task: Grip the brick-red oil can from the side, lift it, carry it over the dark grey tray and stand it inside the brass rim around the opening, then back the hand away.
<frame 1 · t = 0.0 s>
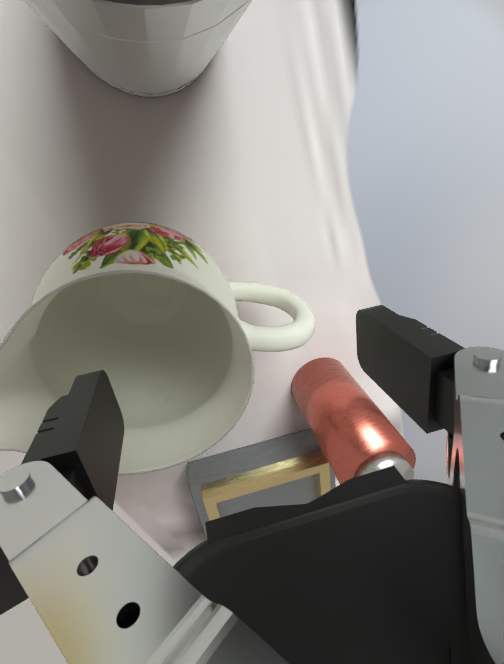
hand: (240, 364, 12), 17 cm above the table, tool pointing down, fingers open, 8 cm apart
spout can: (319, 382, 35), on the table
pitcher: (159, 281, 28), on the table
grey tray: (263, 486, 40), on the table
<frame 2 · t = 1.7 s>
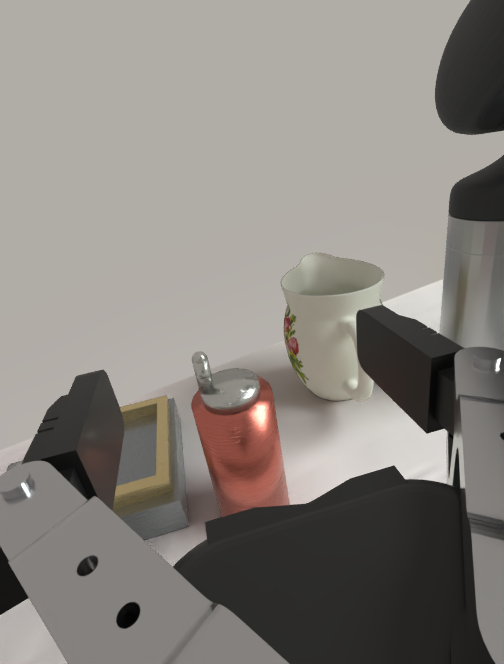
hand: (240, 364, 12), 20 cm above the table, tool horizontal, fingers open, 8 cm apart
spout can: (255, 506, 30), on the table
pitcher: (340, 389, 43), on the table
grey tray: (115, 482, 35), on the table
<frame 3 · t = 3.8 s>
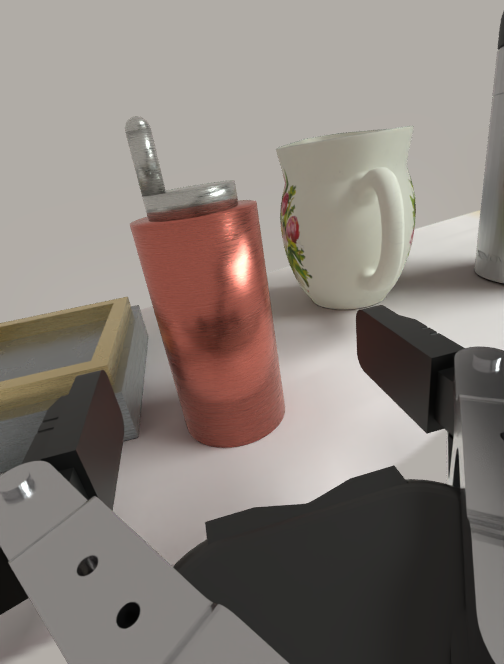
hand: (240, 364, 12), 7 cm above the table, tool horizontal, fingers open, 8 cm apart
spout can: (235, 412, 21), on the table
pitcher: (352, 301, 34), on the table
grey tray: (50, 397, 26), on the table
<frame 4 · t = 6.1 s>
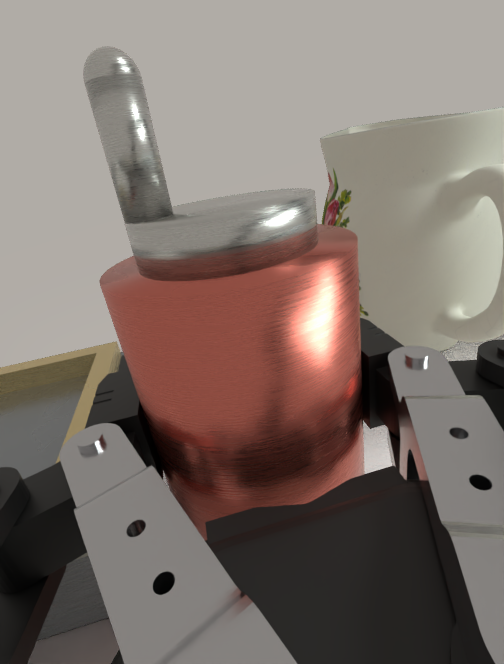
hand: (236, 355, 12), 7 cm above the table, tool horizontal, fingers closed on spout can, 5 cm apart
spout can: (283, 560, 13), on the table, touching gripper
pitcher: (413, 341, 25), on the table
grey tray: (1, 499, 18), on the table
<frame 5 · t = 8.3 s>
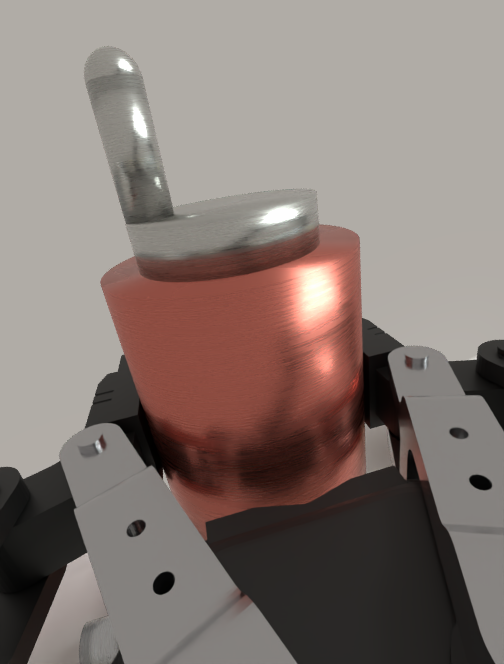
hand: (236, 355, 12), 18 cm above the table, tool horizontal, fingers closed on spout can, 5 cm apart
spout can: (284, 562, 13), point 11 cm above the table, touching gripper
when the fingers open (11 cm above the table, at t = 10.6 s): spout can stays where it is, resting on grey tray.
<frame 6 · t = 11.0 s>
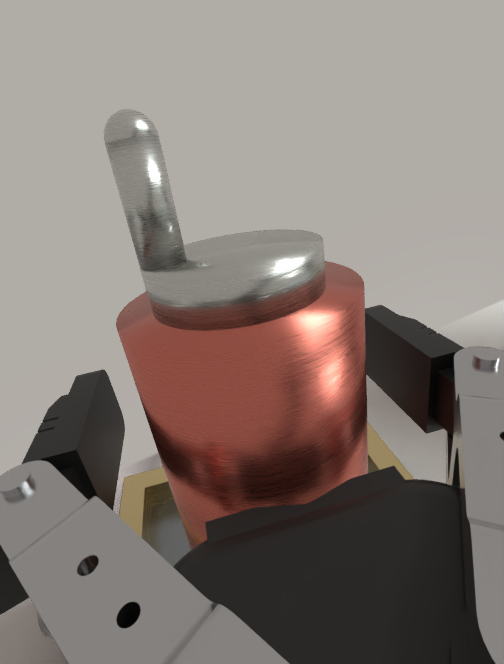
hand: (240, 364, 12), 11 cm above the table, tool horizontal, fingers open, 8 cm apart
spout can: (288, 581, 13), point 3 cm above the table, touching grey tray
grey tray: (294, 625, 15), on the table
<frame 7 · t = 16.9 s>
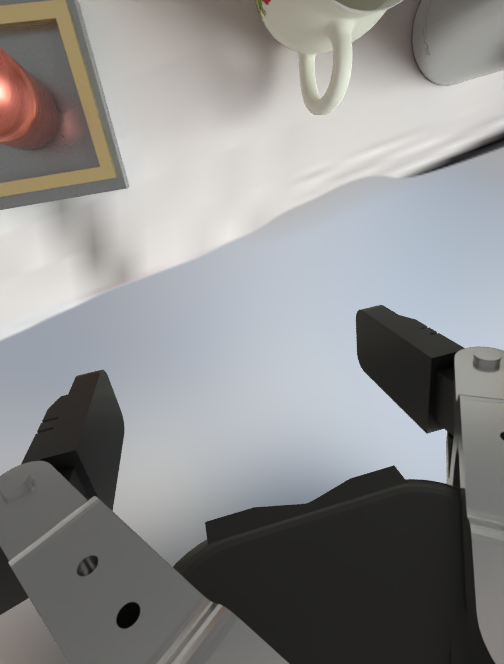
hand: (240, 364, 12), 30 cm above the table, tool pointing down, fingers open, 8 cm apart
spout can: (19, 110, 29), point 3 cm above the table, touching grey tray
pitcher: (296, 11, 33), on the table
grey tray: (30, 114, 32), on the table
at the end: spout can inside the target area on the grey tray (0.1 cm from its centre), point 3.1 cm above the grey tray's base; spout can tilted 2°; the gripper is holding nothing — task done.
